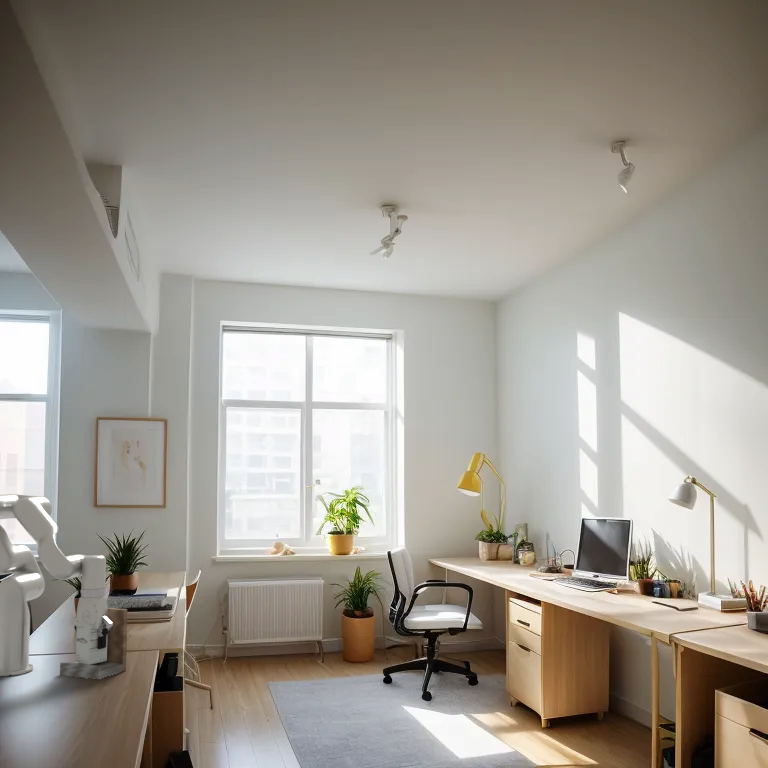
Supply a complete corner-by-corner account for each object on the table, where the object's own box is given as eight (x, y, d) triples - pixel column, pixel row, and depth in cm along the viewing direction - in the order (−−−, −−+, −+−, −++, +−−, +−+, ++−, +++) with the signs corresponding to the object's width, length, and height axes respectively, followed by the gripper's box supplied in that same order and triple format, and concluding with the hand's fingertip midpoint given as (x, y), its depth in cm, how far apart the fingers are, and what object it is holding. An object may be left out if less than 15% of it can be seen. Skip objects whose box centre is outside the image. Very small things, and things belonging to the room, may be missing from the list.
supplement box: (74, 662, 251) (75, 622, 252) (95, 657, 257) (96, 619, 258) (87, 665, 247) (88, 625, 248) (107, 660, 252) (108, 621, 254)
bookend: (59, 674, 250) (61, 612, 252) (87, 666, 261) (89, 606, 263) (99, 679, 243) (100, 615, 245) (126, 670, 254) (127, 609, 256)
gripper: (65, 593, 254) (63, 647, 252) (104, 596, 247) (103, 652, 245) (82, 590, 261) (80, 642, 259) (121, 593, 254) (120, 647, 252)
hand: (91, 647), depth 252 cm, fingers closed on supplement box, 8 cm apart
